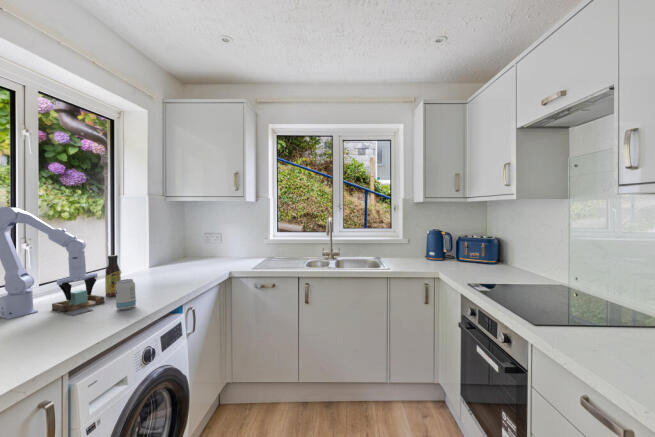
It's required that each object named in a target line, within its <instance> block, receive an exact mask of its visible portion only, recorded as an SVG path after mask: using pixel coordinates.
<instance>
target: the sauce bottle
mask: <svg viewBox="0 0 655 437" xmlns="http://www.w3.org/2000/svg"><path fill="white" fill-rule="evenodd" d="M118 258H119V256H118V254H114V255H111V254H110V255H107V260H108V261H107V262H108V265H107V267H106V269H105V276H104V278H105V282H104V283H105V288H104V289H105V293H104V294H105V297H116V284H117V281H120V280H122V279H121V278H122V277H121V275H122V274H121V269H120V267H119V264H118Z"/></svg>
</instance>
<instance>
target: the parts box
mask: <svg viewBox="0 0 655 437" xmlns="http://www.w3.org/2000/svg"><path fill="white" fill-rule="evenodd" d="M87 297H88V302H85V303H81V304H77V305H74V304H70V300H66V299H65V300H63V301H62V300H61V301H58V302H53V303H52V304H51V309H52V311H54V312H59V313H62V314H64V313H65V312H69V311H73V310H76V309H80V308H90V307H93V306H94V307H95V306H97V305H101V304H105V296H102V295H96V294H91V295H87Z"/></svg>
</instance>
